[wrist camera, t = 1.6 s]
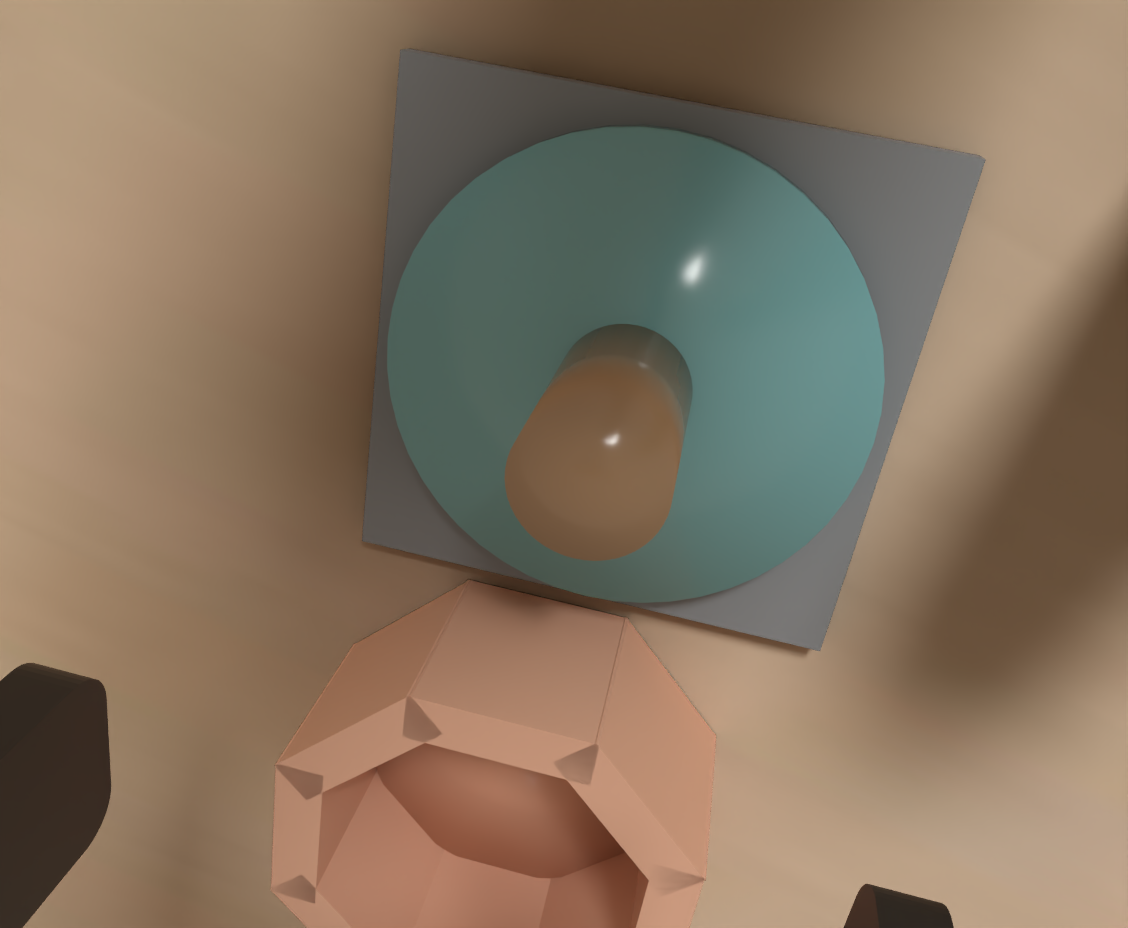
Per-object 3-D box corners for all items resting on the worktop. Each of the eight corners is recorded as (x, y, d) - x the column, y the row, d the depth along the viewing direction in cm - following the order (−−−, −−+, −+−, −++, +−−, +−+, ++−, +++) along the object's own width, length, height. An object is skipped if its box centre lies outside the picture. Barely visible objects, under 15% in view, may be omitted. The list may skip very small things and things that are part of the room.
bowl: (360, 552, 27) (278, 661, 22) (743, 645, 26) (737, 779, 21) (338, 831, 31) (267, 968, 27) (662, 920, 30) (644, 1077, 26)
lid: (420, 80, 21) (305, 102, 16) (951, 179, 20) (1016, 240, 14) (381, 529, 26) (283, 661, 20) (806, 630, 24) (815, 796, 19)
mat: (409, 48, 21) (400, 49, 21) (979, 155, 20) (985, 159, 19) (370, 530, 26) (362, 541, 26) (818, 637, 25) (819, 651, 25)
